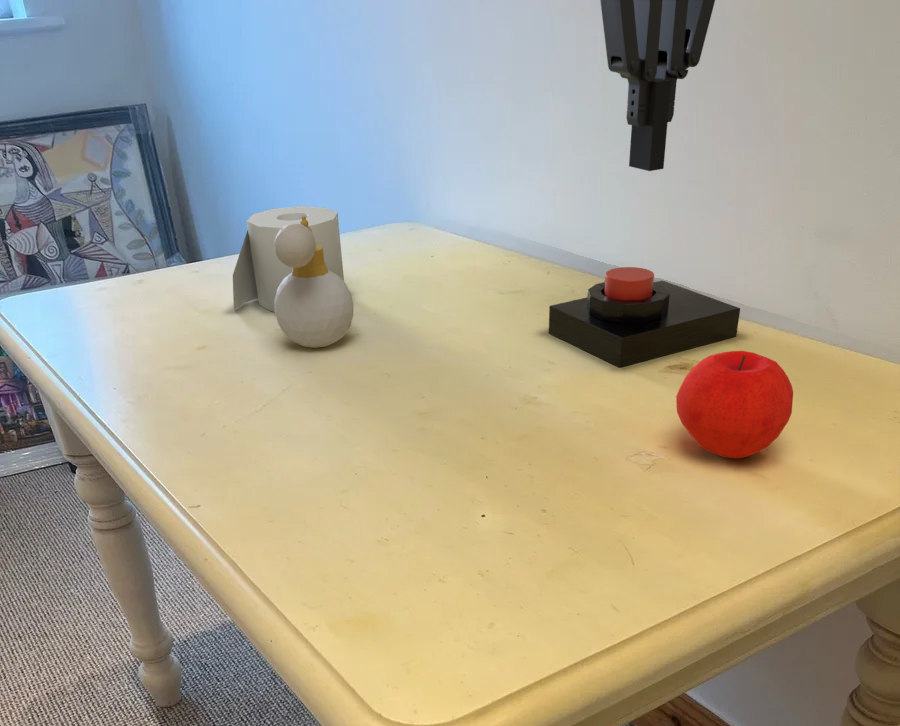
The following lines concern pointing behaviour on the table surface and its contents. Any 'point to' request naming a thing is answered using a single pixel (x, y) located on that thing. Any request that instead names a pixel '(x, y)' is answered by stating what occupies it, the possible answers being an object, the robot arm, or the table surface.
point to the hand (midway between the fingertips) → (646, 167)
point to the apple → (735, 403)
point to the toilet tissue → (258, 259)
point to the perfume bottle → (309, 291)
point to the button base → (642, 323)
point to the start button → (629, 283)
